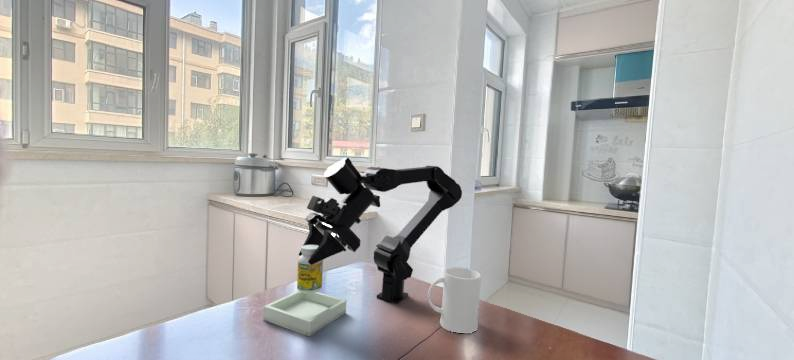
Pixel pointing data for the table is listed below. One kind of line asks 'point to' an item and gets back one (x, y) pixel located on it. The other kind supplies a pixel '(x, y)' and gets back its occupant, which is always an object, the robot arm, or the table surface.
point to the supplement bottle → (309, 271)
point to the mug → (459, 299)
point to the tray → (305, 311)
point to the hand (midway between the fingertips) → (304, 259)
